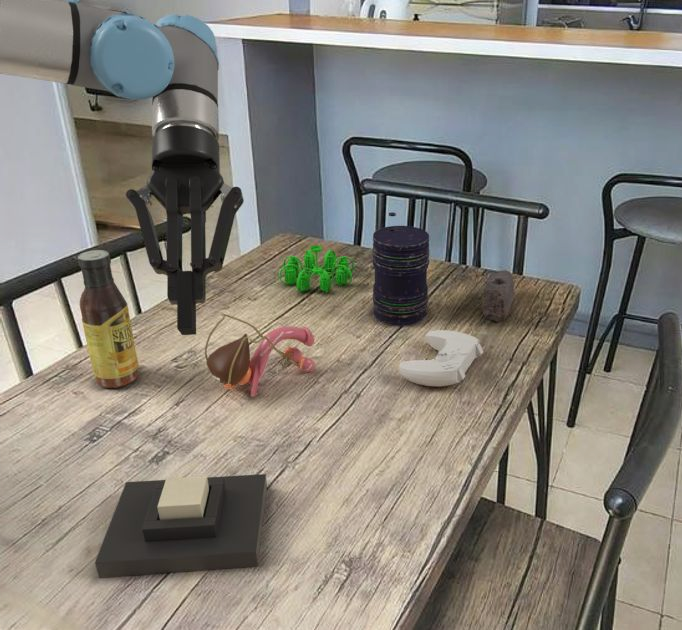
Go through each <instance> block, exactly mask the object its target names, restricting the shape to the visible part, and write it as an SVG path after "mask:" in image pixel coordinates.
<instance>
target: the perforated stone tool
mask: <svg viewBox="0 0 682 630" xmlns="http://www.w3.org/2000/svg"><path fill="white" fill-rule="evenodd" d="M483 292H484V300H483V301H482V303H481V304H480V308H481V311H482V313H483V316H484V318H486V319H488V320H489V321H495V322H497V323H501V322H504V320H505V319H506V318H507V317H508V314H509V313H510V310H511V306H512V305H513V301H514V294H515V282H514V277H513V275H512V273H511V271H509V270H506V269H503V270H502V269H501V270H499V271H498V272H497V271H496V273H495V274H493V275H492V277H491V278H489V280H488V281H487V283H486V285H485V287H484V288H483Z"/></svg>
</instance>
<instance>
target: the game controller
mask: <svg viewBox="0 0 682 630" xmlns="http://www.w3.org/2000/svg"><path fill="white" fill-rule="evenodd" d="M424 338H425V339H424V340H425V341H426V343H427V344H428V345H429V346H431V347H432V348H433V349H435V350H437V351H438V352H437V353H438V354H437V355H436V356H435V358H432V359H414V360H404V361H401V362H399V365H398V373H399V374H400V375H401V376H402V378H404V379H405V380H407V381H409V382H411V383H413V384H417V385H421V386H426V387H447V386H451V385H455V384H456V385H457V384H459V383H460V382H461V381H463V380H464V379H465V378H466V372H467V371H468V369H469V368H470V366H471V364H472V363H473V361H474V360H475V359H478V357H480V356H482V355H483V354H484V349H483V347H482V345H481V343H480V340H479V339H478V338H477V337H475V336H473V335H471V334H468V333H464V332H460V331H456V330H447V329H435V330H431V331H429V332H427V333H426V334H425V335H424Z"/></svg>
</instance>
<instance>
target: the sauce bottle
mask: <svg viewBox="0 0 682 630" xmlns="http://www.w3.org/2000/svg"><path fill="white" fill-rule="evenodd" d="M77 262H78V266H79V267H80V270H81V274H82V279H83V285H84V289H83V291H82V292H81V294H80V299H79V309H80V314H81V322H82V323H81V324H82V327H83V332H84V337H85V341H86V346H87V351H88V355H89V360H90V365H91V369H92V373H93V376H95V377H94V379H95V381H96V384H97V385H98V386H99V387H102V388H106V389H117V388H122V387H124V386H127V385H129V384H131V383H133V382H134V381H136V380H137V378H138V376H139V361H138V354H137V348H136V344H135V337H134V332H133V326H132V322H131V316H130V311H129V310H130V309H129V305H128V303H127V300H126V299H125V297H124V296H123V294H122V292H121V290H120V289H119V287H118V286H117V284H116V283H115V279H114V277H113V272H112V267H111V263H112V259H111V255H110V253H109V251H106V250H103V249H93V250H88V251H85V252H82V253H79V255H78V256H77Z"/></svg>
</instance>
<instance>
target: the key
mask: <svg viewBox="0 0 682 630" xmlns="http://www.w3.org/2000/svg"><path fill="white" fill-rule="evenodd" d="M207 477H208V476H207V475H204V476H186V477H184V476H183V477H169V478H168V477H167V478H165V480H166V481H165V484H164V487H163V490H162V494H161V497H160V500H159V503H158V506H157V507H158V512H159V517H160V520H172V519H187V518H203V515H204V511H205V506H206V502H207V497H208V493H209V485H208V479H207Z"/></svg>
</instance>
